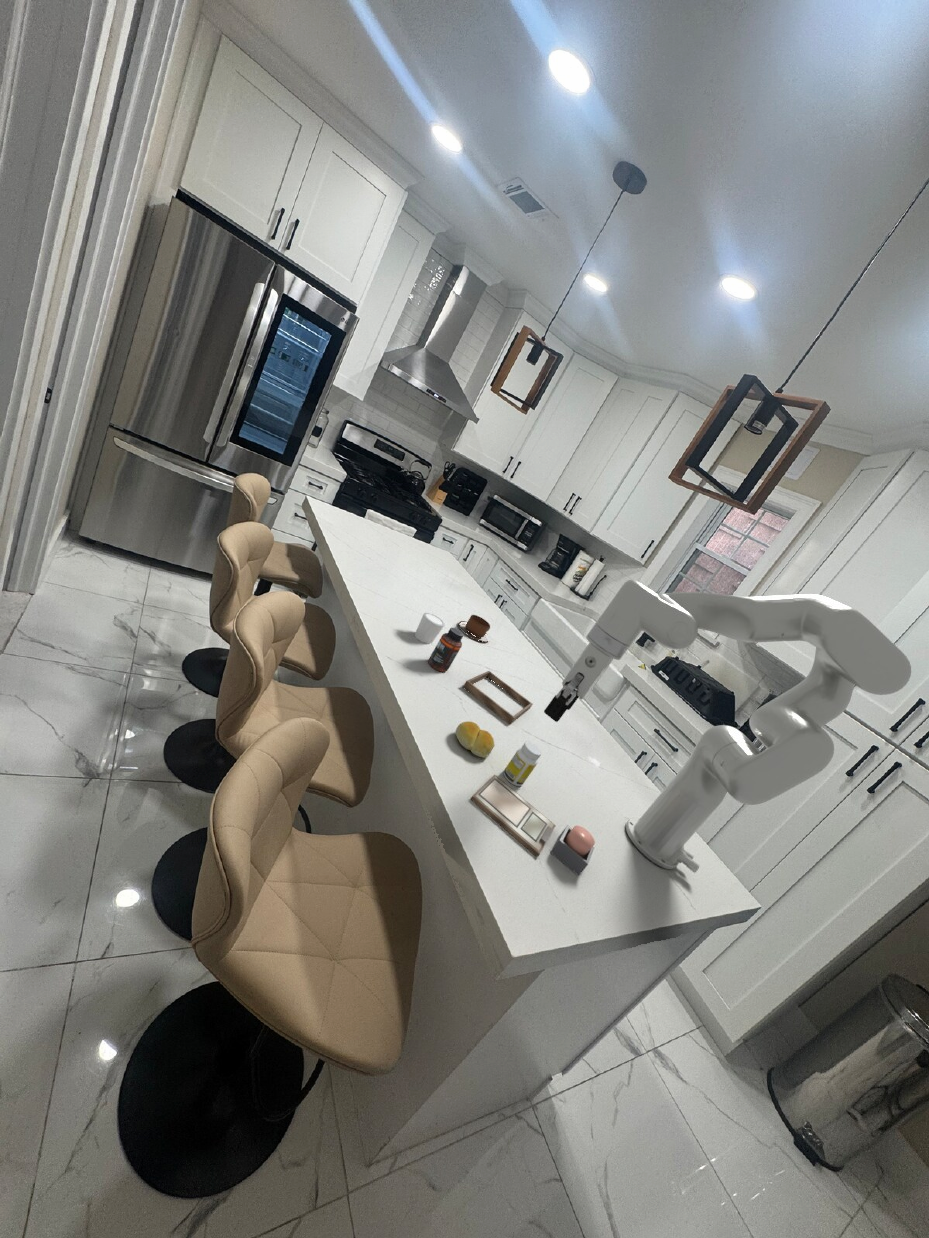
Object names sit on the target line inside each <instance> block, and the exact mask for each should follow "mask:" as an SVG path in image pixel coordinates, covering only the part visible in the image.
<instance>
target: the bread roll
mask: <svg viewBox="0 0 929 1238" xmlns="http://www.w3.org/2000/svg"><path fill="white" fill-rule="evenodd" d="M455 735H456V738H457V740H458V741H459V743H460V744H461V746H462V747H463V748H464V749H466V750H470V751H471V753H472V754H473V755H474V756H477V757H479V758H484V759H485V758H488V757H489V756H490V754H491V753H492V751H493V749H494V748H495V745H496V744H495V738H494V737H493V736H492V734H491V733H490V731H487V730H485V729H481V728H480V727H479V725H478V724H477V723H476V722H473V721H470V720H469V721H463V722H461V723H459V724H458V725H457V727H456V729H455Z"/></svg>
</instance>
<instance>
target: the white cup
mask: <svg viewBox="0 0 929 1238" xmlns="http://www.w3.org/2000/svg"><path fill="white" fill-rule="evenodd" d="M444 627H445V622H444V620H442V619H441V618H440V617H438V616H437V615H434V614H433V613H430V612H424V613H423V615H422V617H421V619H420V621H419V624H418V625H417V628H416V631H415V633H414V636H415V638H416V639H417V640H419V641H420V642H422V643H424V644H426V643H428V644H427V645H431V644H433V642H434V641H435V640H436V639H437V637H438V635H439V634H440V633H441V631H442V630H443V628H444ZM430 643H431V644H430Z"/></svg>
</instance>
